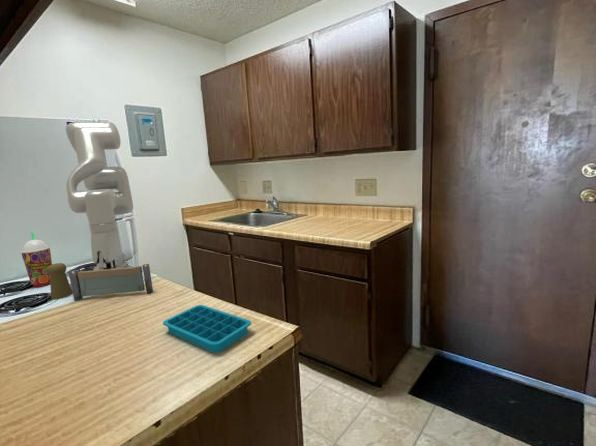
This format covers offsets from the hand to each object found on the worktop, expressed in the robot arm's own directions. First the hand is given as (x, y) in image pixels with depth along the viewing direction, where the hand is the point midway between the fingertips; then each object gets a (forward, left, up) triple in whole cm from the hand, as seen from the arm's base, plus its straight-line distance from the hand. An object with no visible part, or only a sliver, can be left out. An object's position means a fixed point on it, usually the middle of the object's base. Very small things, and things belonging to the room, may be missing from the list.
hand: (112, 280), depth 109 cm
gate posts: (+7, +3, -3) cm, 8 cm away
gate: (+7, +3, -2) cm, 8 cm away
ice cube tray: (+37, +38, -4) cm, 53 cm away
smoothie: (-12, -31, -3) cm, 34 cm away
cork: (+2, -16, -3) cm, 17 cm away
